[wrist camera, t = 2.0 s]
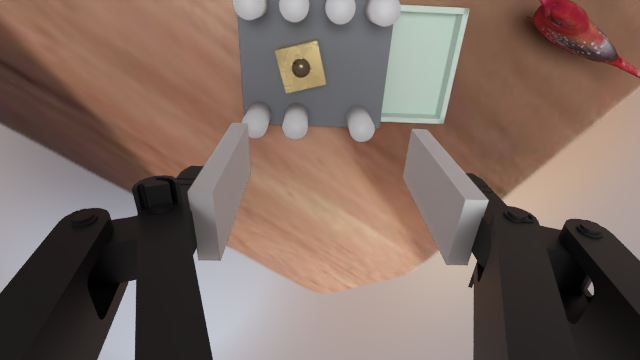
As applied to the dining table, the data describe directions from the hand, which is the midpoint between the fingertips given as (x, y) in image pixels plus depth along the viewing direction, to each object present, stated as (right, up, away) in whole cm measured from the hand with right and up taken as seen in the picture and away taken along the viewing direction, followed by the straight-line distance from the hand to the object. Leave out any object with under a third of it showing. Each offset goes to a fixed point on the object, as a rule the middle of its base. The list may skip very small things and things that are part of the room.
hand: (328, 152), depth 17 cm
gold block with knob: (-3, +12, +22) cm, 25 cm away
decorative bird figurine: (+28, +16, +23) cm, 39 cm away
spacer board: (-1, +13, +24) cm, 27 cm away
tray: (+11, +13, +24) cm, 30 cm away
